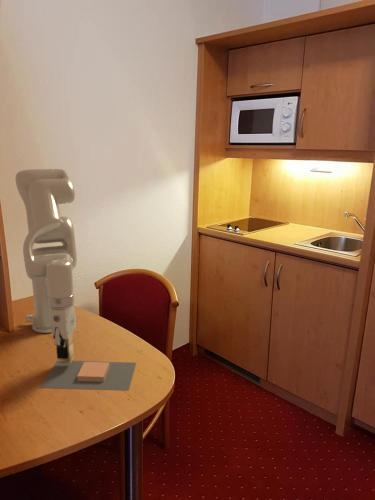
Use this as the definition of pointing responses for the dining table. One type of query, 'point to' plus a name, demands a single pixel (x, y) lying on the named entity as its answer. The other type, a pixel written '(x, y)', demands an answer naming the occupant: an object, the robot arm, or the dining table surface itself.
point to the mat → (67, 379)
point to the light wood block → (70, 351)
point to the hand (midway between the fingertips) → (65, 353)
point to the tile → (93, 371)
